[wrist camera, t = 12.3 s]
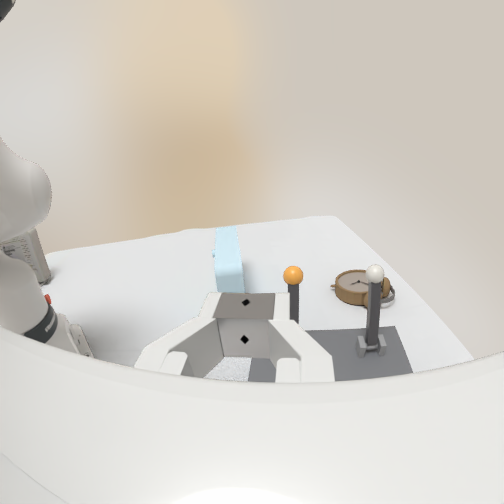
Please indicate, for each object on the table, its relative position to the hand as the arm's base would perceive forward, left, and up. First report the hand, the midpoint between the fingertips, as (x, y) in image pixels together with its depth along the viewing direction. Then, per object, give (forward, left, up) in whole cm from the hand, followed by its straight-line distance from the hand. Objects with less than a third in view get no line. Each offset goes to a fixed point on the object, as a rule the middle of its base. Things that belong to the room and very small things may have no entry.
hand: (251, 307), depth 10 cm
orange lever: (-13, +13, -21) cm, 28 cm away
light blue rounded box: (-42, +20, -30) cm, 56 cm away
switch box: (-9, +17, -30) cm, 36 cm away
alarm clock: (-22, +43, -30) cm, 57 cm away
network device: (-90, -41, -30) cm, 104 cm away
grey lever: (-6, +22, -21) cm, 31 cm away
